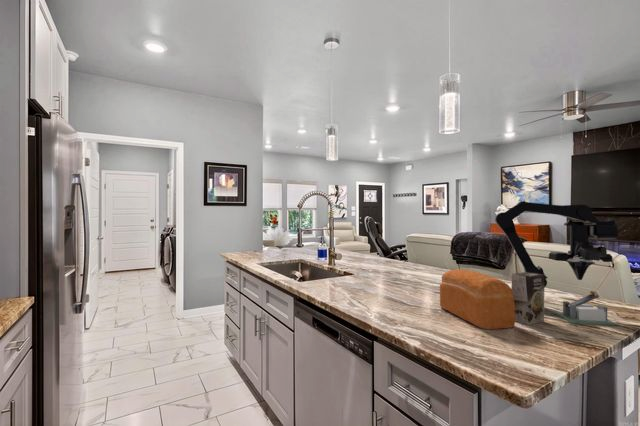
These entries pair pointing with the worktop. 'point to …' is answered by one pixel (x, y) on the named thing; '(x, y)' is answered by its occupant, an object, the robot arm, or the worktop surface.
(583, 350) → the worktop surface
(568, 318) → the heatsink board
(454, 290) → the bread
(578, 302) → the grey and brown bar
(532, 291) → the coffee box
